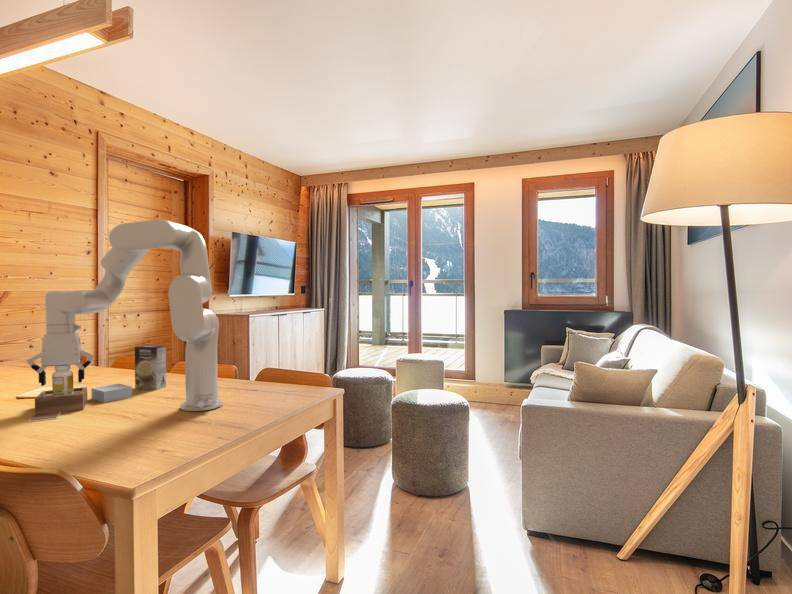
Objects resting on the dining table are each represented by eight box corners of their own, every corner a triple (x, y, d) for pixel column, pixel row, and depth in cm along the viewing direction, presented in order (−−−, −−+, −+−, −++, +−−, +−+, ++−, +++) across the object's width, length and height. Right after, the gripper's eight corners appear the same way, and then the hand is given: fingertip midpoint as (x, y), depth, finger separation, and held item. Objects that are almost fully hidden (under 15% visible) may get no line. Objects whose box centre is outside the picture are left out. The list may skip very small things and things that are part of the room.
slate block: (132, 398, 158) (132, 386, 158) (104, 403, 150) (103, 391, 150) (119, 394, 163) (119, 383, 163) (91, 399, 155) (91, 388, 155)
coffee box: (133, 389, 169) (133, 346, 169) (145, 385, 176) (144, 344, 175) (157, 389, 168) (156, 347, 168) (167, 386, 175) (166, 344, 174)
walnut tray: (83, 409, 142) (83, 394, 142) (35, 415, 136) (34, 399, 136) (87, 401, 152) (87, 386, 152) (42, 405, 146) (42, 391, 146)
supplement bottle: (70, 392, 148) (69, 362, 147) (75, 395, 144) (75, 364, 144) (50, 395, 144) (49, 365, 143) (55, 398, 140) (54, 367, 140)
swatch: (57, 418, 133) (57, 416, 133) (28, 422, 129) (27, 420, 129) (61, 412, 139) (61, 411, 139) (33, 415, 135) (33, 414, 135)
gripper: (94, 327, 151) (95, 378, 151) (29, 330, 142) (30, 384, 143) (92, 329, 144) (93, 382, 145) (23, 332, 136) (24, 388, 136)
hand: (62, 383), depth 144 cm, fingers open, 9 cm apart
